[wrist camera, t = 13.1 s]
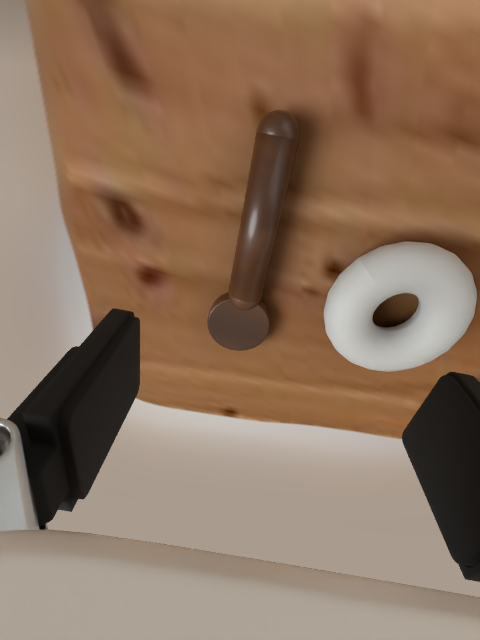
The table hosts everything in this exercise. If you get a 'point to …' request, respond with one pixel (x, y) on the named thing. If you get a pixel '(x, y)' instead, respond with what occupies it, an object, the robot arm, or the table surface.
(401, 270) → the donut
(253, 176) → the spoon
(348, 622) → the robot arm
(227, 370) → the table surface
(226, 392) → the table surface
